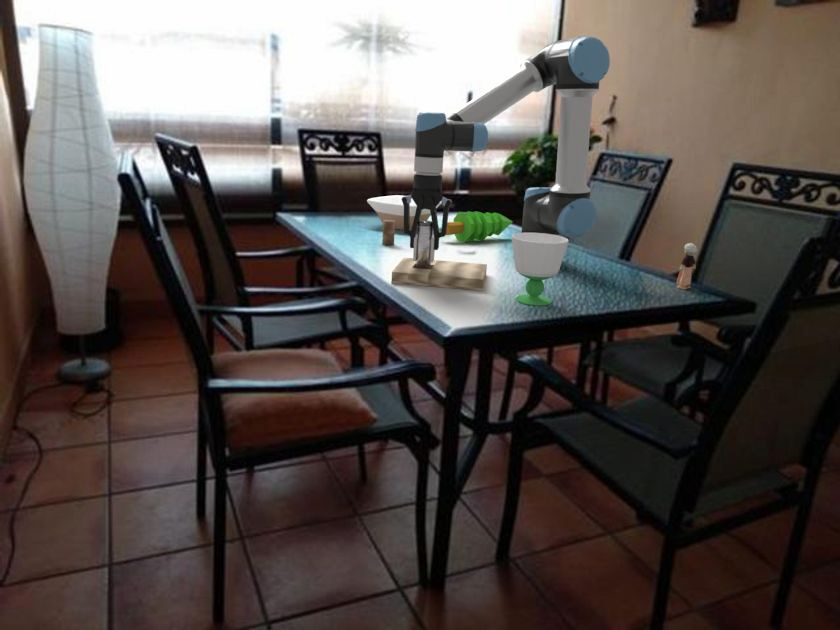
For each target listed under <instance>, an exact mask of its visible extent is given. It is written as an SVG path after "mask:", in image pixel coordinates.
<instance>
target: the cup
mask: <svg viewBox="0 0 840 630" xmlns="http://www.w3.org/2000/svg"><path fill="white" fill-rule="evenodd" d="M511 241H512V251H513V257H514V258H513V259H514V268H515V271H516V272H517V273H518V274H519V275H521V276H522V277H523V278H526V279H528V280H527V282H526V284H525V292H526V293H527V294H520V295H517V296H515V301H517V302H518V303H521V304H523V305H529V306H535V307H536V306H537V307H538V306H544V307H545V306H548V305H550V304H552V299H550V297H549V298H548V297H546V296H543V295H542V294H543V292H544V290H545V284H544V282H543V281H545V280H548V279H549V280H550V279H551V278H553V277H555V276H556V275H558V273H559V272H560V268H561V266H562V263H563V259H564V257H565V255H566V251H567V248H568V245H569V242H570V241H569V239H568V237H565V236H562V235H559V234H558V235H552V234H545V233H521V232H519V233H518V232H516V233H514V234H512V235H511Z"/></svg>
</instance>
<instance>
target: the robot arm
mask: <svg viewBox="0 0 840 630" xmlns="http://www.w3.org/2000/svg"><path fill="white" fill-rule="evenodd" d="M610 60H611V57H610V51H609V49H608V47H607V46H606V45H605V44H604V42H603V41H602V40H601V39H599V38H598V37H594V36H578V37H573V38H566V39H558V40H555V41H553V42H551V43H550V44H549V43H548V45H545V46H544V47H542V48H541V49H540V50H538V51H537V52H535V53H534V54H532V55H531V56H530V57H528V58H526V59H524V60H523V61H522V62H521V64H520V67H519V68H518V69H516V70H515V71H513V72H512V73H510V74H509V75H508V76H506V77H505V78H503V79H501V80H500V81H499V82H496V83H495V84H494V85H492V86H491V87H490V88H488V89H486V90H485V91H484V92H482V93H480V94H479V95H477V96H476V97H474V98H473V99H471V100H470V101H468V102H467V103H466V104H464V105H462V106H460V107H459V108H457V109H456V110H455V111H453V112H452V113H450V114H448V115H447V116H446V114H445V112H433V111H432V112H431V111H420V112H418V113H417V115H416V116H417V117H416V123H415V130H414V131H415V140H414V141H415V144H414V147H415V148H414V149H415V150H414V160H413V161H414V162H413V163H414V165H413V171H414V172H415V173H414V175H413V184H412V185H413V187H412V191H411V193H410V194H409V195H403V196H404V197H402V202H403V205H404V230H403V233H404V234H405V235H408V236H409V237H410V238H409V247H410V249H413V255H412V256H413V257H412V258H413V261H416V257H417V236H418V235H417V232H418V229H417V227H418V221H419V220H420V216H421V212H422V209H428V210H430V213H431V215H430V217H431V221H432V225H433V232H432V233H433V236H432V238H431V254H430V262H432V263H433V261H434V260H435V251H437V250H439V247H440V239H441V238H443V237H445V236H447V235H446V232H447V222H449V221H448V220H449V213H450V212H449V211H450V207H451V205H452V203H453V201H452V199H450V198H446V197H444V195H443V192H442V190H443V189H442V187H443V176H442V173H443V171H444V169H443V168H444V167H443V166H444V156H445V155H444V153H445V151H446V152H449V151H450V152H451V151H452V152H471V153H473V152H482V151H484V150H485V148H486V147H487V145H488V140H489V131H488V127H487V126H486V125H485V124H486V123H488V122H490V121H491V120H493V119H494V118H496V117H497V116H499V115H500V114H501V113H503V112H505V111H506V110H508V109H509V108H511V107H512V106H513V105H515V104H517V103H518V102H520V101H521V100H522V99H524V98H526V97H527V96H529V95H530V94H531V93H533V92H535V93H539V92H541V91H542V90H544V89H546V88H547V87H550V86H553V85H555V92H556V93H557V94H558V95H559V96H560V107H559V108H560V109H559V120H558V121H559V124H558V138H557V155H556V157H557V158H556V167H555V168H556V171H555V183H554V185H553V186H551V187H529V188H527V189H526V190H525V194H524V199H523V201H524V202H523V209H522V211H523V212H522V223H521V232H520V233H545V234H552V235H558V236H559V235H560V236H562V237H565V238H574V239H575V238H580V237H583V236H585V235H586V234H587V233H589V231H590V230H592V228H594V227H593V226H595V222H596V220H597V215H598V211H597V207H596V205H595V203H594V202H593V201H592V200H591V189H590V187H589V186H588V185H587V173H588V172H587V171H588V162H589V161H588V158H589V146H590V134H591V121H592V107H593V97H594V96H595V95H596V94H597V92H598V91H599V89H600V81H602V80H603V79H604V78H605V76H606V75H607V74H608V72H609V69H610V63H611V61H610ZM411 199H413V201H414V202H415V204H416V205H417V208H416V213H415V217H414V221H413V225H412V229H411V230H410V203H411ZM440 201H442V203H441V205H442V207H443V209H442V210H443V211H442V218H441V219H442V220H441V231H440V228H439V226H440V225H439V219H438V215H437V208H436V206H437V205H438V204H439V203H440ZM513 259H514V256H513Z"/></svg>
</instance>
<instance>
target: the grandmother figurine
mask: <svg viewBox="0 0 840 630" xmlns="http://www.w3.org/2000/svg"><path fill="white" fill-rule="evenodd" d="M683 248H684V251H683V252H684V255H685V256H684V257H683V259H682V261H681V264H680V267H679V270H678V271H679V273H678V277H677V280H676V284H677V286H676V289H681V290H688V289H691V288H692V287H691V283H692V270H695V269H696V268H697V267H696V260H695V257H694V255H695V253H696V252H698V248H697V246H696V245H695V244H694V243H692V242H689V243H686V244H685V245H684V247H683Z"/></svg>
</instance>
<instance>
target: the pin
mask: <svg viewBox="0 0 840 630" xmlns="http://www.w3.org/2000/svg"><path fill="white" fill-rule="evenodd" d="M433 233H434V232H433V225H432V220H431V221H430V220H427V221H418V229H417V235H416V236H417V257H416V268H420V269H430V268H431V262H430V254H431V238H432V237H433Z"/></svg>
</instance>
